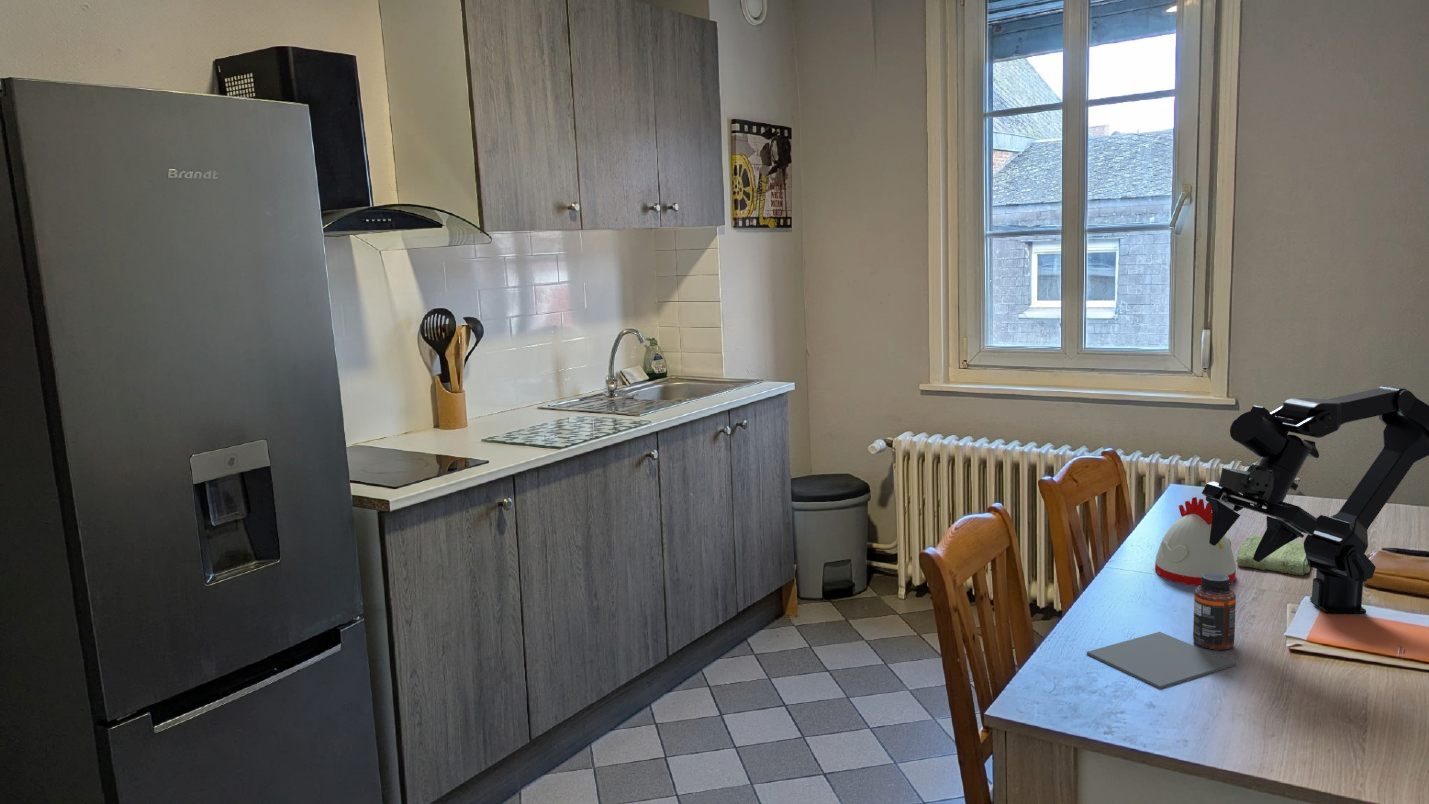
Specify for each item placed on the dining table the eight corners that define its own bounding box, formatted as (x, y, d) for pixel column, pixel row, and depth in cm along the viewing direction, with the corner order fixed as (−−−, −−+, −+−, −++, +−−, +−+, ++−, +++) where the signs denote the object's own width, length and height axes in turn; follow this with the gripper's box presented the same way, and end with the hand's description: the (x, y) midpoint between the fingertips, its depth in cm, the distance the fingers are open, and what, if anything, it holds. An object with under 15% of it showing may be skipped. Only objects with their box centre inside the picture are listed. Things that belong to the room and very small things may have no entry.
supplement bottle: (1230, 638, 161) (1234, 571, 159) (1236, 653, 156) (1240, 584, 154) (1190, 635, 163) (1193, 568, 161) (1194, 649, 158) (1197, 581, 156)
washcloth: (1318, 554, 201) (1319, 539, 200) (1307, 580, 187) (1308, 563, 187) (1246, 544, 209) (1246, 529, 208) (1230, 568, 195) (1231, 552, 194)
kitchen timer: (1198, 591, 183) (1201, 511, 180) (1139, 569, 195) (1141, 495, 193) (1251, 578, 188) (1256, 501, 186) (1191, 558, 201) (1194, 485, 198)
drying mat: (1159, 633, 164) (1159, 631, 164) (1235, 665, 151) (1235, 662, 151) (1086, 654, 157) (1086, 651, 157) (1160, 688, 145) (1160, 686, 145)
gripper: (1202, 437, 170) (1159, 517, 170) (1294, 459, 153) (1245, 548, 153) (1245, 465, 174) (1203, 544, 174) (1339, 490, 156) (1292, 577, 156)
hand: (1233, 552), depth 164 cm, fingers open, 9 cm apart
